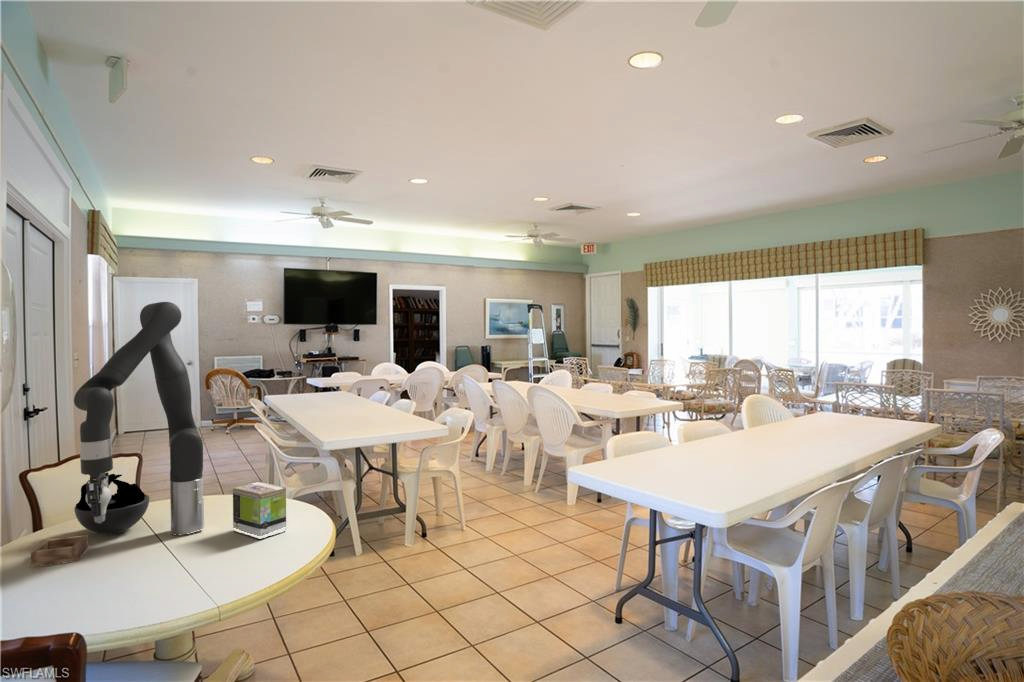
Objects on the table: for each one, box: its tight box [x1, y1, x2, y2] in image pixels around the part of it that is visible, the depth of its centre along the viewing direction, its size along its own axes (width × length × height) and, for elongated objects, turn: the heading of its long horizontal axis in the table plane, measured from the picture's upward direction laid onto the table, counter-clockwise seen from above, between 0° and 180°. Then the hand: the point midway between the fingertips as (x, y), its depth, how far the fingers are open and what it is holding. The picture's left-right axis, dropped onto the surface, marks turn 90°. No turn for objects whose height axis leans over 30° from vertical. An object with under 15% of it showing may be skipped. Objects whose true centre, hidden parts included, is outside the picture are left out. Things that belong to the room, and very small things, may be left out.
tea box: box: [232, 481, 287, 536], centre depth 186 cm, size 15×10×15 cm, turn 58°
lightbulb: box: [85, 486, 112, 524], centre depth 165 cm, size 6×6×11 cm
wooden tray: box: [29, 534, 90, 568], centre depth 165 cm, size 11×11×4 cm
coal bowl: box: [74, 473, 150, 535], centre depth 185 cm, size 20×20×19 cm
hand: (99, 512), depth 165 cm, fingers closed on lightbulb, 5 cm apart
